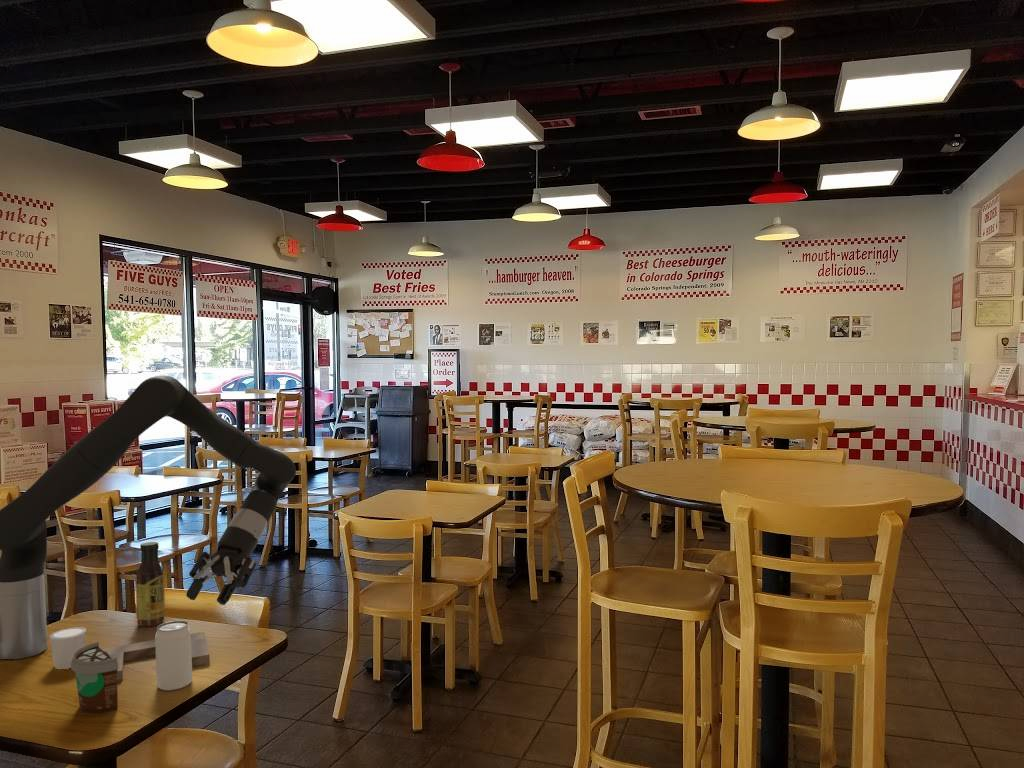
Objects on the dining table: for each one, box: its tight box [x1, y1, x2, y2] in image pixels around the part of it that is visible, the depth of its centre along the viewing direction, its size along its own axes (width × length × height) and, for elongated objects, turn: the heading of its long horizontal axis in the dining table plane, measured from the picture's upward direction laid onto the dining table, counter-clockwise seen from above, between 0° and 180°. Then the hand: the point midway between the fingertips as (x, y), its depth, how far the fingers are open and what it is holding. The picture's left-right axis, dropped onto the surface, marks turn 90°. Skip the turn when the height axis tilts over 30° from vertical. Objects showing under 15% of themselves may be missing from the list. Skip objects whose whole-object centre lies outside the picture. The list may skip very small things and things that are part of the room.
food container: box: [70, 641, 119, 714], centre depth 140 cm, size 12×6×10 cm, turn 45°
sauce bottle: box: [135, 541, 166, 628], centre depth 184 cm, size 6×6×20 cm
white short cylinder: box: [49, 626, 87, 670], centre depth 160 cm, size 7×7×7 cm
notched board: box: [100, 631, 211, 682], centre depth 161 cm, size 22×15×2 cm
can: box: [154, 619, 193, 692], centre depth 149 cm, size 6×6×12 cm
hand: (205, 600), depth 156 cm, fingers open, 8 cm apart
